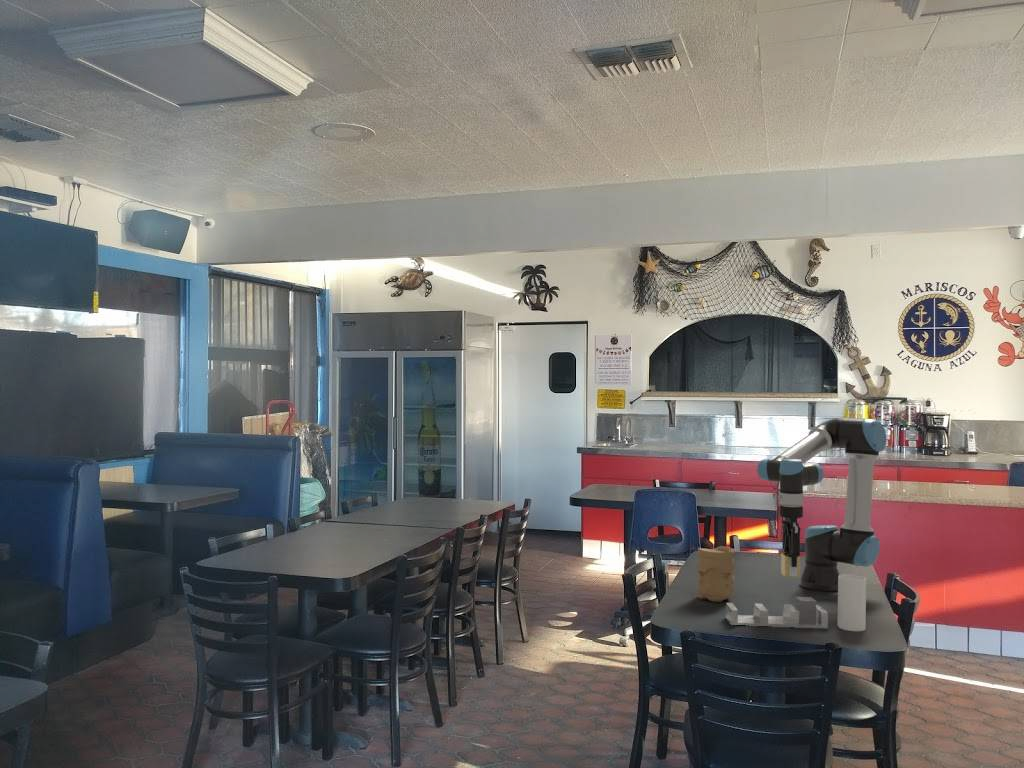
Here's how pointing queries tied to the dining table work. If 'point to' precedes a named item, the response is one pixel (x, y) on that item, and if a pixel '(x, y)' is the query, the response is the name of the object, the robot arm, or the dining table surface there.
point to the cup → (851, 602)
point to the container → (715, 573)
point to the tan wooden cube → (787, 565)
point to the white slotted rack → (800, 617)
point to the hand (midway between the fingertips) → (790, 573)
